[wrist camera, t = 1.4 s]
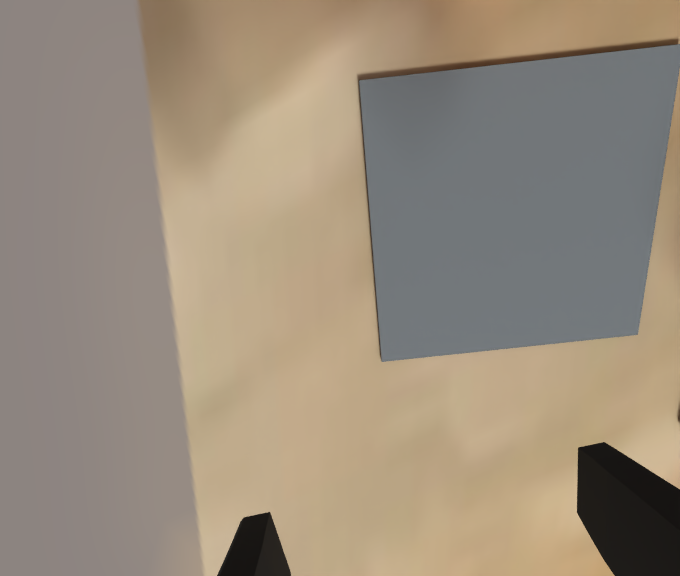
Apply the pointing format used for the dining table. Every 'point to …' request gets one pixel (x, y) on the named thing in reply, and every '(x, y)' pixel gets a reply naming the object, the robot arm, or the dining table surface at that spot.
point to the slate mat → (515, 199)
